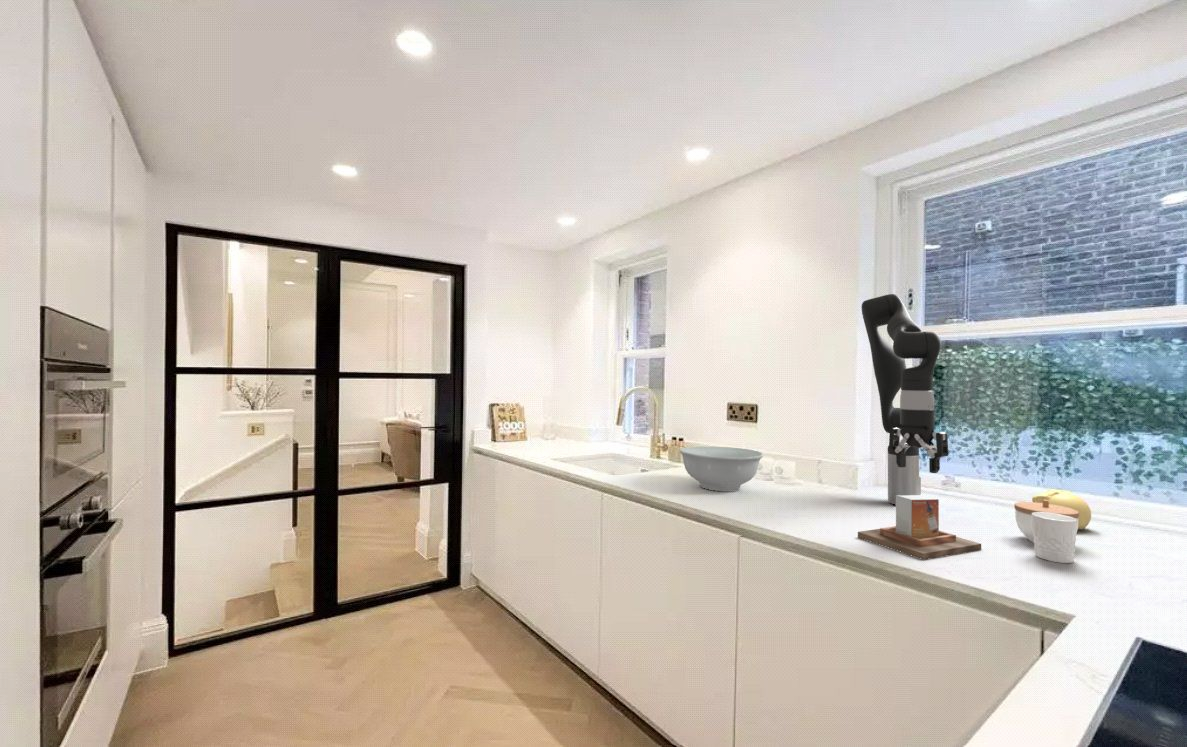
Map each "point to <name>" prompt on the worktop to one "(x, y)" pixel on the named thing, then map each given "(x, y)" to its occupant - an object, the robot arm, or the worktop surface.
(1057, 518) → the white cup
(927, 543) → the walnut board
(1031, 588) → the worktop surface
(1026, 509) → the lidded bowl
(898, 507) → the small box
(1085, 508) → the sculpture
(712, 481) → the bowl
